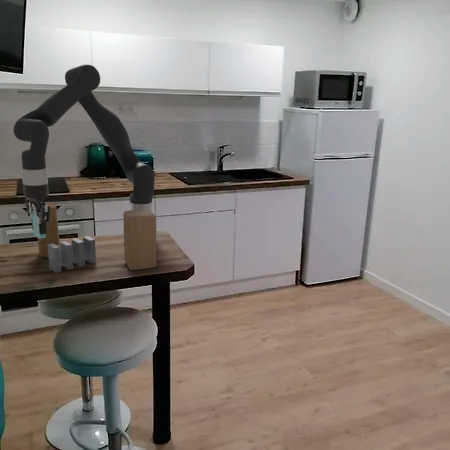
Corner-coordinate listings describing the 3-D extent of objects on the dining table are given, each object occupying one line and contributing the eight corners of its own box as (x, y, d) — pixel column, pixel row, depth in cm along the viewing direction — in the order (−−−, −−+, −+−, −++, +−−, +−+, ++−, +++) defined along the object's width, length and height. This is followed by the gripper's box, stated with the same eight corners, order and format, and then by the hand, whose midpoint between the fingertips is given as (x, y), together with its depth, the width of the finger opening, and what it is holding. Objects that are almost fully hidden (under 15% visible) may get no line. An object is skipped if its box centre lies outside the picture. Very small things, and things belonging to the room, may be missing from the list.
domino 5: (89, 258, 171) (88, 235, 168) (96, 262, 167) (95, 239, 165) (84, 259, 169) (83, 236, 167) (91, 263, 166) (90, 240, 163)
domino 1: (39, 233, 154) (37, 208, 152) (45, 237, 151) (43, 211, 148) (33, 235, 153) (31, 209, 150) (39, 238, 150) (37, 212, 147)
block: (60, 258, 170) (56, 206, 164) (38, 259, 167) (34, 207, 162) (60, 248, 179) (57, 199, 174) (40, 249, 177) (36, 200, 171)
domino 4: (78, 261, 168) (76, 238, 165) (84, 265, 164) (83, 241, 162) (73, 262, 166) (71, 239, 164) (79, 266, 163) (78, 242, 160)
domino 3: (66, 264, 164) (65, 240, 162) (73, 268, 161) (71, 244, 158) (61, 265, 163) (59, 241, 160) (68, 269, 160) (66, 245, 157)
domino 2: (54, 267, 161) (53, 243, 159) (61, 271, 158) (59, 247, 155) (49, 268, 160) (47, 244, 157) (55, 272, 157) (54, 248, 154)
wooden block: (124, 261, 169) (122, 210, 163) (150, 258, 173) (149, 208, 167) (129, 271, 160) (128, 217, 154) (157, 268, 164) (156, 215, 158)
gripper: (56, 184, 144) (60, 235, 149) (37, 177, 154) (41, 224, 159) (33, 187, 139) (37, 239, 144) (14, 179, 149) (19, 228, 154)
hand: (39, 231), depth 152 cm, fingers closed on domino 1, 5 cm apart
